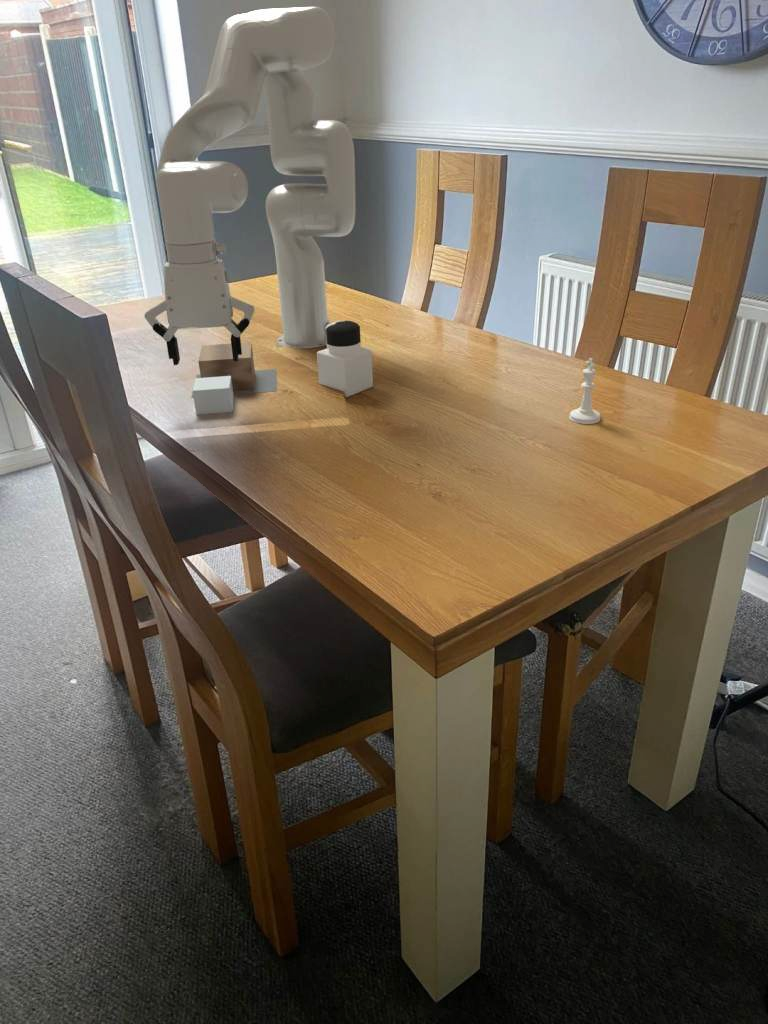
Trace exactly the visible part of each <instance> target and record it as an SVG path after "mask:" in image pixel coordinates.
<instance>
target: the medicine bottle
mask: <svg viewBox="0 0 768 1024" xmlns="http://www.w3.org/2000/svg"><path fill="white" fill-rule="evenodd" d="M326 342H327V345H326V348H324V349H322V350H318V351H317V352H316V361H317V362H316V363H317V372H318V373H317V375H318V384H319V385H323V386H326V387H328V388H331V389H335V390H338V391H340V392H342V395H343V397H344V398H349V397H351V396H354V395H356V394H359V393H361V392H364V391H366V390H368V389H371V388H373V386H374V378H373V377H374V376H373V375H374V374H373V373H374V372H373V357H372V356H373V355H372V353H373V352H372V349H370V348H367V347H364V346H361V345H362V342H361V326H360V324H359V323H357V322H355V321H352V320H336V321H333V322H330V324H329V325H327V327H326Z"/></svg>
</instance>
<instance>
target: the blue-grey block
mask: <svg viewBox="0 0 768 1024" xmlns="http://www.w3.org/2000/svg"><path fill="white" fill-rule="evenodd" d="M192 393H193V397H194V398H193V402H194V408H195V414H196V415H209V414H218V413H219V414H220V413H231V412H233V411H234V401H235V397H234V396H235V395H233V388H232V381H231V376H221V377H207V378H196V377H195V379H194V383H193V387H192Z"/></svg>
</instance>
